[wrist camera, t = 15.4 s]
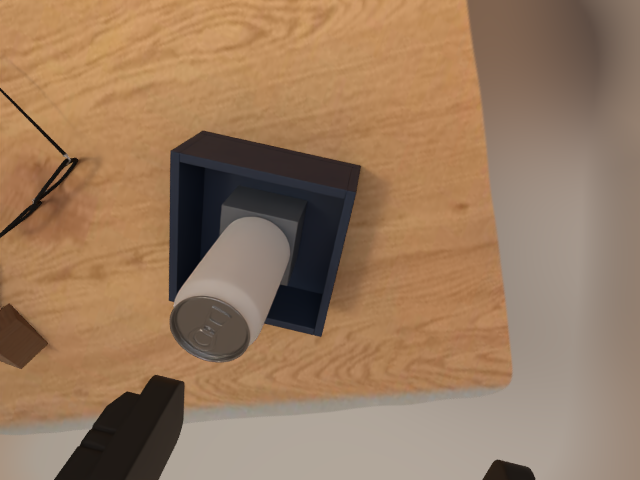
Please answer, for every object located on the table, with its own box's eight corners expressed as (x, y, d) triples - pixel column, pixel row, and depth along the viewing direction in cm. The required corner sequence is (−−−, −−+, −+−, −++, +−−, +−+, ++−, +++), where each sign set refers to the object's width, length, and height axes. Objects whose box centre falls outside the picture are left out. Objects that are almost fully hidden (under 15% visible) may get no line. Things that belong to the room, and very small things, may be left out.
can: (211, 251, 40) (149, 335, 30) (242, 200, 37) (186, 273, 27) (269, 287, 41) (229, 381, 31) (304, 240, 38) (273, 326, 28)
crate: (360, 165, 40) (356, 192, 34) (329, 296, 48) (321, 337, 42) (202, 130, 41) (170, 150, 35) (196, 264, 48) (168, 300, 42)
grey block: (307, 200, 42) (298, 222, 37) (296, 259, 45) (287, 286, 41) (238, 184, 42) (221, 204, 38) (232, 245, 45) (216, 269, 41)
